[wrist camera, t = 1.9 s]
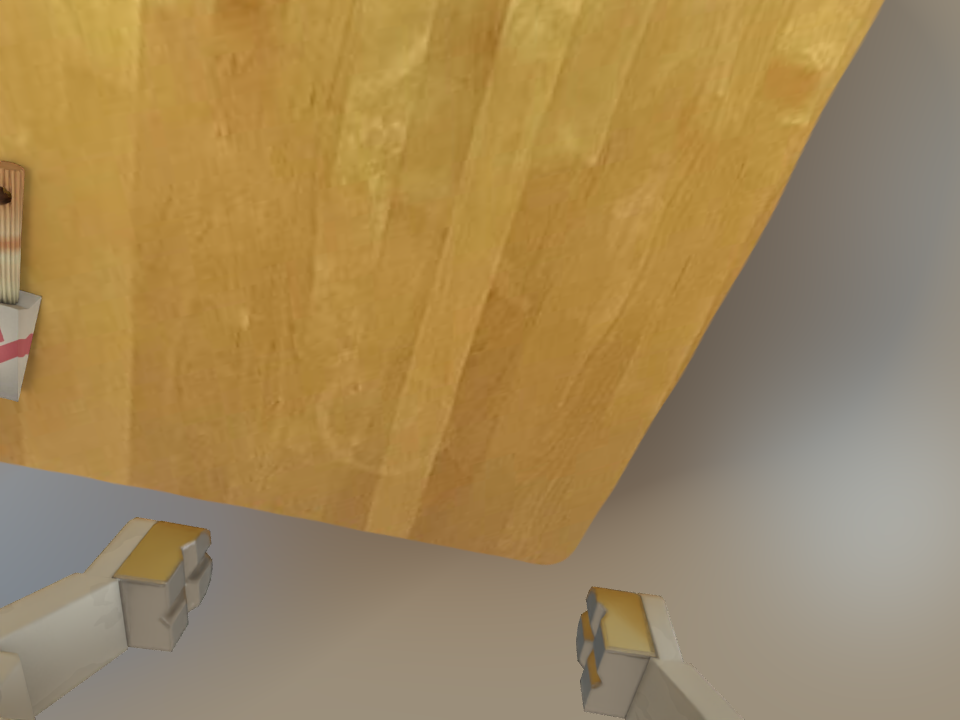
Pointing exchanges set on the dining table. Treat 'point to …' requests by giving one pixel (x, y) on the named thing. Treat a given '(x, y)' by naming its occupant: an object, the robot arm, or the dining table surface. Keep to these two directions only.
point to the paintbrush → (13, 286)
